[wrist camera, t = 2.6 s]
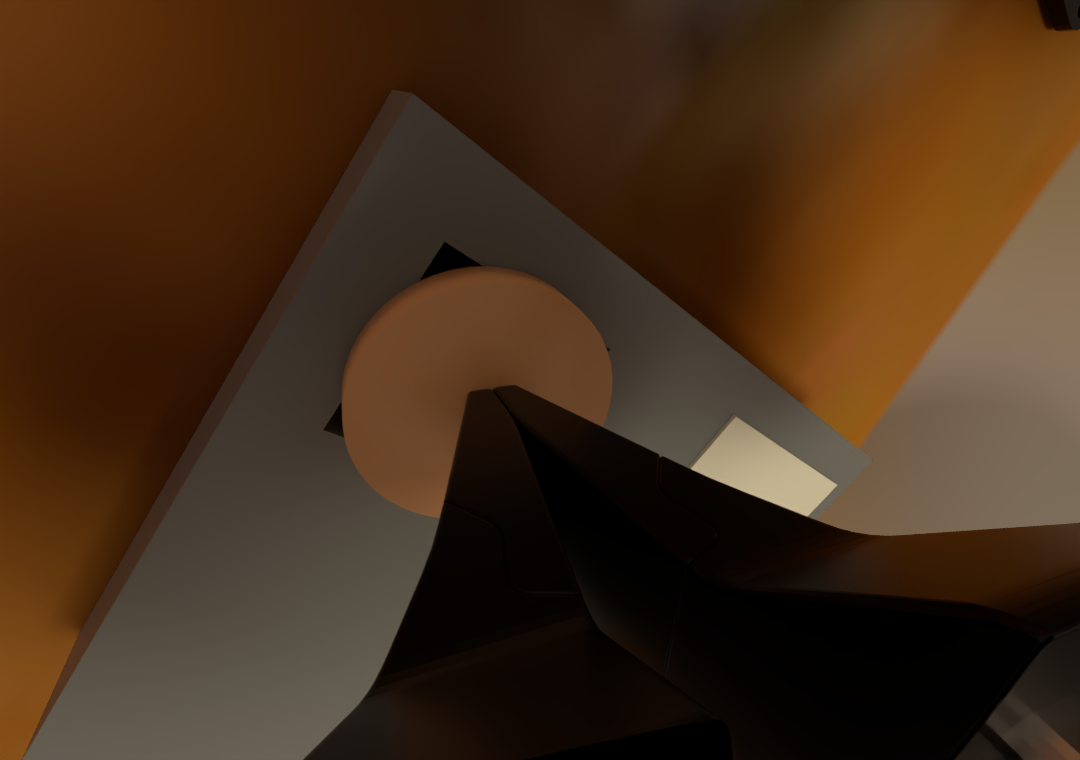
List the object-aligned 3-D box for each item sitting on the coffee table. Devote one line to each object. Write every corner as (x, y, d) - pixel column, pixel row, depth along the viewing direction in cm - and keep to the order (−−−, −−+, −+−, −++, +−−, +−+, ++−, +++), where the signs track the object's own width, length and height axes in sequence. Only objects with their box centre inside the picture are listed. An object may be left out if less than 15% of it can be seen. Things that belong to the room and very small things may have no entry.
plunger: (413, 178, 10) (448, 219, 7) (582, 296, 13) (660, 363, 10) (297, 368, 11) (286, 472, 8) (475, 443, 14) (515, 543, 11)
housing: (391, 89, 10) (413, 93, 7) (800, 409, 18) (875, 462, 16) (79, 632, 13) (18, 766, 10) (549, 689, 22) (578, 770, 19)
